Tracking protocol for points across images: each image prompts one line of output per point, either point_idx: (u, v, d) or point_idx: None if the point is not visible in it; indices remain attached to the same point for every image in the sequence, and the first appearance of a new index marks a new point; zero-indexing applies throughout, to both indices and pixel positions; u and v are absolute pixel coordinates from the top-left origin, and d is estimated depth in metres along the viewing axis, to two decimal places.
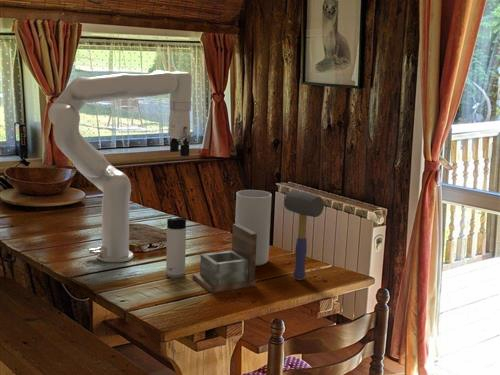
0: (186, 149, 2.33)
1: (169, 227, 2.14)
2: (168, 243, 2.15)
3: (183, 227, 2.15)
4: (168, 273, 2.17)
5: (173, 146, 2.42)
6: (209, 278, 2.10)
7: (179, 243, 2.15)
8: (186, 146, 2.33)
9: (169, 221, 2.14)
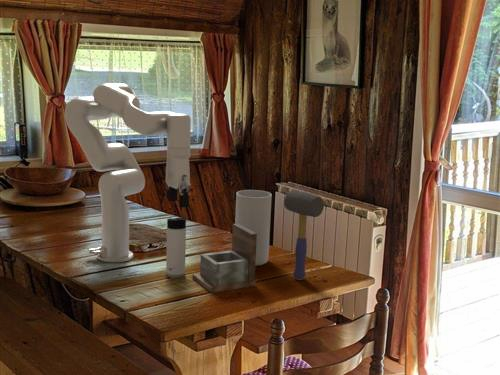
0: (185, 200, 2.09)
1: (169, 227, 2.14)
2: (168, 243, 2.15)
3: (183, 227, 2.15)
4: (168, 273, 2.17)
5: (171, 195, 2.17)
6: (209, 278, 2.10)
7: (179, 243, 2.15)
8: (185, 196, 2.09)
9: (169, 221, 2.14)
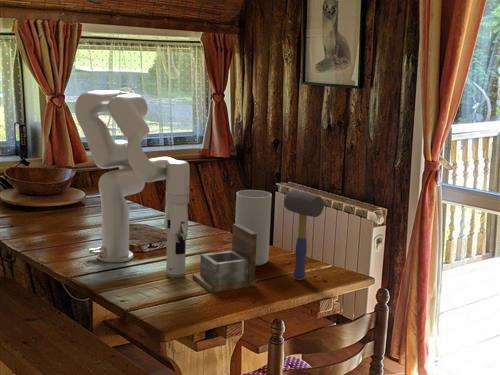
0: (182, 247, 2.14)
1: (169, 227, 2.14)
2: (168, 243, 2.15)
3: None
4: (168, 273, 2.17)
5: None
6: (209, 278, 2.10)
7: None
8: (182, 244, 2.13)
9: (169, 221, 2.13)
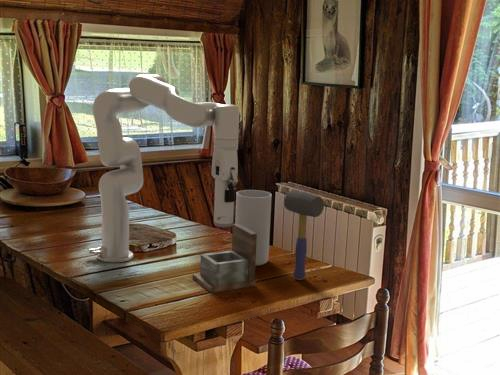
0: (231, 194, 2.05)
1: (218, 174, 2.06)
2: (217, 191, 2.07)
3: None
4: (216, 222, 2.09)
5: None
6: (209, 278, 2.10)
7: None
8: (231, 191, 2.05)
9: (218, 167, 2.05)
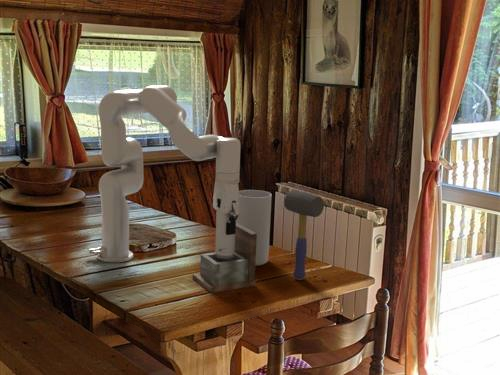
0: (232, 227, 2.07)
1: (219, 206, 2.07)
2: (218, 223, 2.09)
3: None
4: (218, 254, 2.11)
5: None
6: (209, 278, 2.10)
7: None
8: (232, 224, 2.07)
9: (220, 200, 2.07)
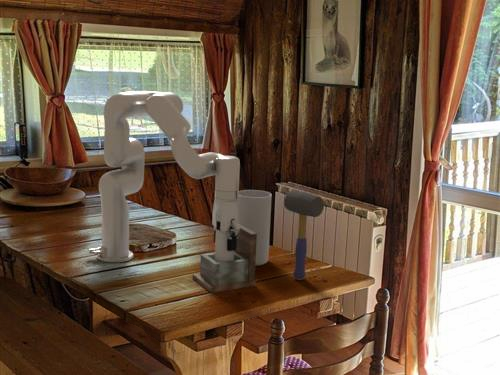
0: (233, 243, 2.07)
1: (219, 229, 2.09)
2: (217, 245, 2.10)
3: None
4: None
5: None
6: (209, 278, 2.10)
7: None
8: (234, 240, 2.07)
9: (219, 223, 2.08)
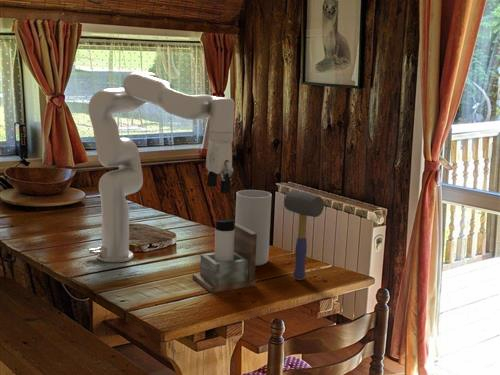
0: (227, 185, 2.05)
1: (218, 229, 2.09)
2: (217, 245, 2.10)
3: (232, 229, 2.09)
4: None
5: (211, 180, 2.14)
6: (209, 278, 2.10)
7: (229, 245, 2.09)
8: (227, 182, 2.05)
9: (218, 223, 2.08)
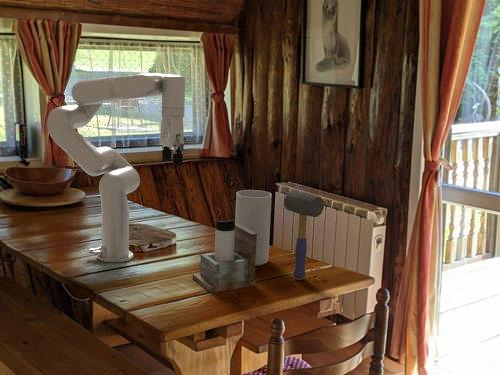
0: (179, 158, 2.16)
1: (218, 229, 2.09)
2: (217, 245, 2.10)
3: (232, 229, 2.09)
4: None
5: (165, 155, 2.25)
6: (209, 278, 2.10)
7: (229, 245, 2.09)
8: (179, 155, 2.16)
9: (218, 223, 2.08)
